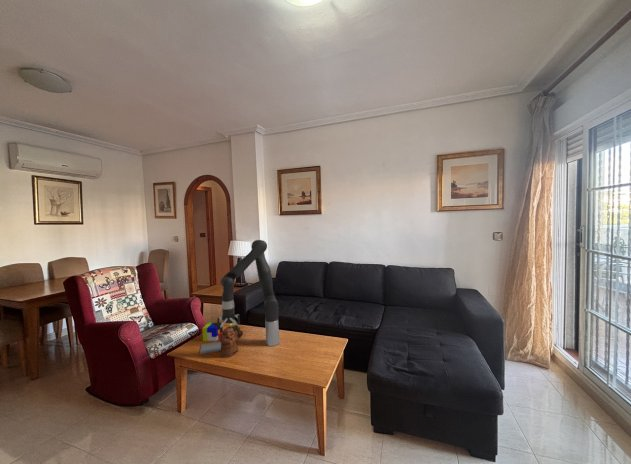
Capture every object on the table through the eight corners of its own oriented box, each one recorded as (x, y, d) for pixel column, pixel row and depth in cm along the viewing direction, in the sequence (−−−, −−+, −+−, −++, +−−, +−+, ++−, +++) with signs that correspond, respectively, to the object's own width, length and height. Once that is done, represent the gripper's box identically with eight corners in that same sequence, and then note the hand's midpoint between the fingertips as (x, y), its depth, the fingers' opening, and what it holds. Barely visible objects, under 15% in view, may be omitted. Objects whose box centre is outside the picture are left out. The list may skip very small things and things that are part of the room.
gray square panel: (222, 342, 185) (222, 341, 184) (222, 350, 172) (222, 349, 172) (201, 346, 180) (201, 344, 180) (199, 355, 168) (199, 353, 168)
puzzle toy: (216, 341, 187) (215, 328, 187) (202, 341, 187) (202, 328, 187) (221, 335, 197) (221, 322, 197) (208, 335, 197) (208, 322, 197)
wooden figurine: (227, 359, 161) (226, 331, 161) (219, 357, 164) (218, 329, 164) (240, 350, 172) (239, 324, 171) (233, 348, 175) (232, 323, 174)
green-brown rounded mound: (220, 333, 201) (220, 321, 200) (241, 329, 207) (241, 317, 207) (222, 342, 185) (221, 329, 184) (244, 338, 191) (244, 325, 191)
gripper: (239, 303, 173) (239, 327, 173) (216, 306, 168) (217, 330, 168) (239, 307, 166) (240, 331, 166) (216, 310, 161) (217, 335, 161)
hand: (229, 331), depth 167 cm, fingers open, 8 cm apart
